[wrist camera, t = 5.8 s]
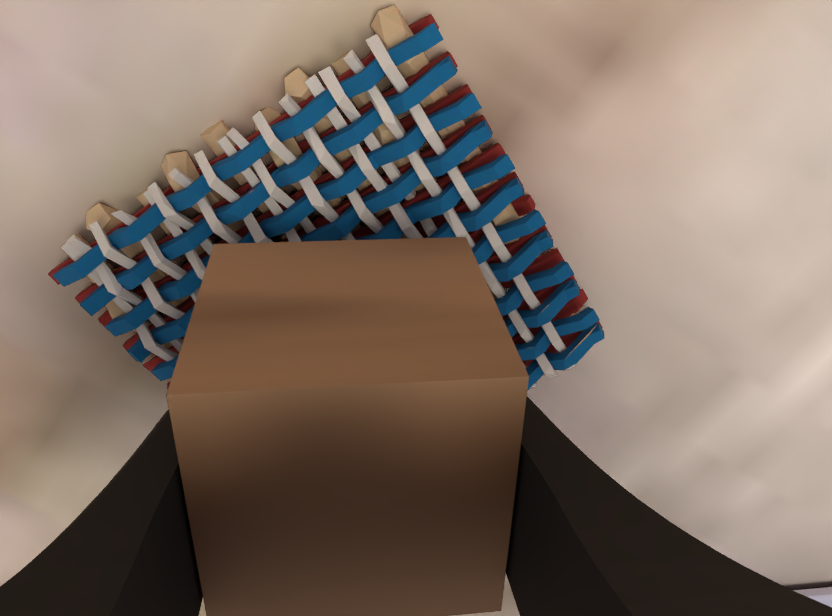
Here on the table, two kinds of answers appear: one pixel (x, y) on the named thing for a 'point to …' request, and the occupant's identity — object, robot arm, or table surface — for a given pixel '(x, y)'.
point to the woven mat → (339, 202)
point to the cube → (348, 429)
